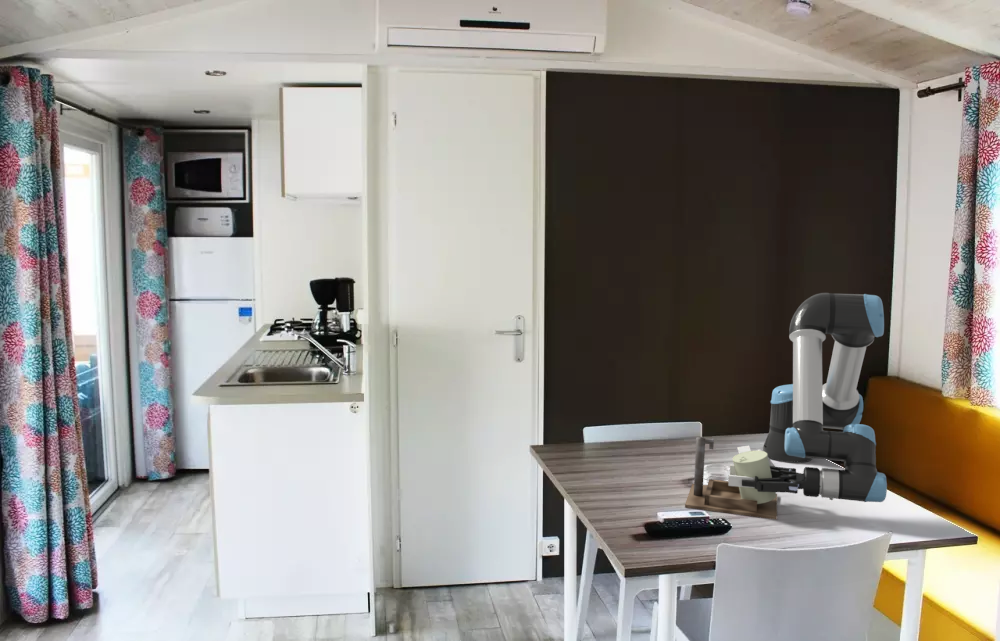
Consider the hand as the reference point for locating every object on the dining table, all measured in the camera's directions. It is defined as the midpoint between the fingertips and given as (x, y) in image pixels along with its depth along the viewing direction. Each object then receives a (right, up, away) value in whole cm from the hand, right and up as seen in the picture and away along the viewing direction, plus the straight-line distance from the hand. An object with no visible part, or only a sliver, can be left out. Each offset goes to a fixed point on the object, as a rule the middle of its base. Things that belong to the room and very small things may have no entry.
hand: (729, 474), depth 208 cm
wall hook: (+15, -5, +23) cm, 29 cm away
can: (+7, -6, -2) cm, 10 cm away
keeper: (+2, -8, +1) cm, 8 cm away
